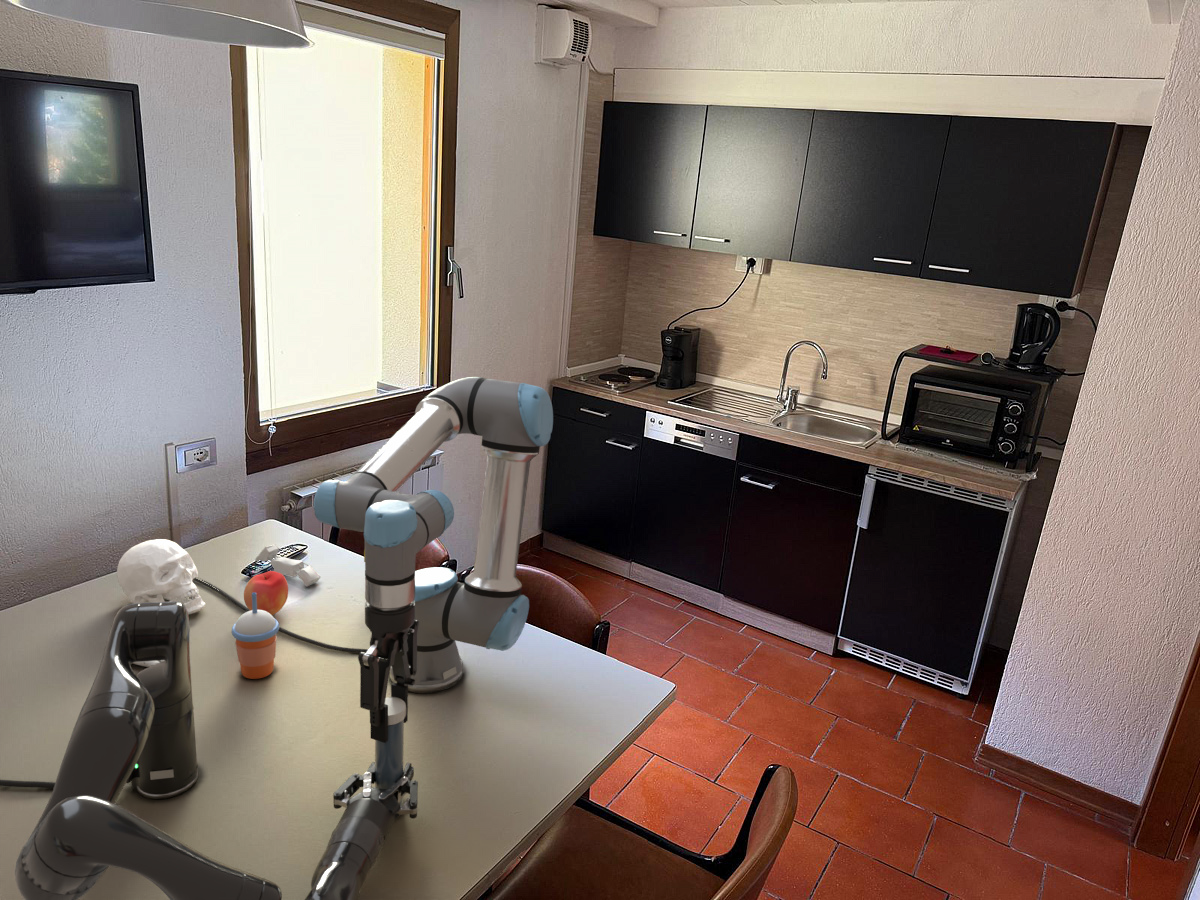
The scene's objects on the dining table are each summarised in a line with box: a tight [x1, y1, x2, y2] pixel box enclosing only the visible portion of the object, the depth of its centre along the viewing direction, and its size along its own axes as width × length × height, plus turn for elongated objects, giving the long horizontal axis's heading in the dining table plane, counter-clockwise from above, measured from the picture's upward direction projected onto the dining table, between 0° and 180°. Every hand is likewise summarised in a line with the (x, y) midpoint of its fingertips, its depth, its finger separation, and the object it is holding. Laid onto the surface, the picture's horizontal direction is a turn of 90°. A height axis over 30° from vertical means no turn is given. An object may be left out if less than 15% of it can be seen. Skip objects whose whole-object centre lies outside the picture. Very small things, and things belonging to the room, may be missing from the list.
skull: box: [116, 538, 206, 615], centre depth 199 cm, size 13×22×16 cm, turn 73°
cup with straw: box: [231, 592, 280, 680], centre depth 176 cm, size 9×9×18 cm
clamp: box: [254, 544, 322, 587], centre depth 219 cm, size 20×4×7 cm, turn 62°
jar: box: [374, 719, 405, 806], centre depth 140 cm, size 4×4×20 cm
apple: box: [243, 570, 289, 617], centre depth 199 cm, size 10×10×10 cm
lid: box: [385, 696, 406, 725], centre depth 137 cm, size 5×5×2 cm
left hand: (394, 765), depth 144 cm, fingers closed on jar, 4 cm apart
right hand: (389, 729), depth 138 cm, fingers closed on lid, 5 cm apart
